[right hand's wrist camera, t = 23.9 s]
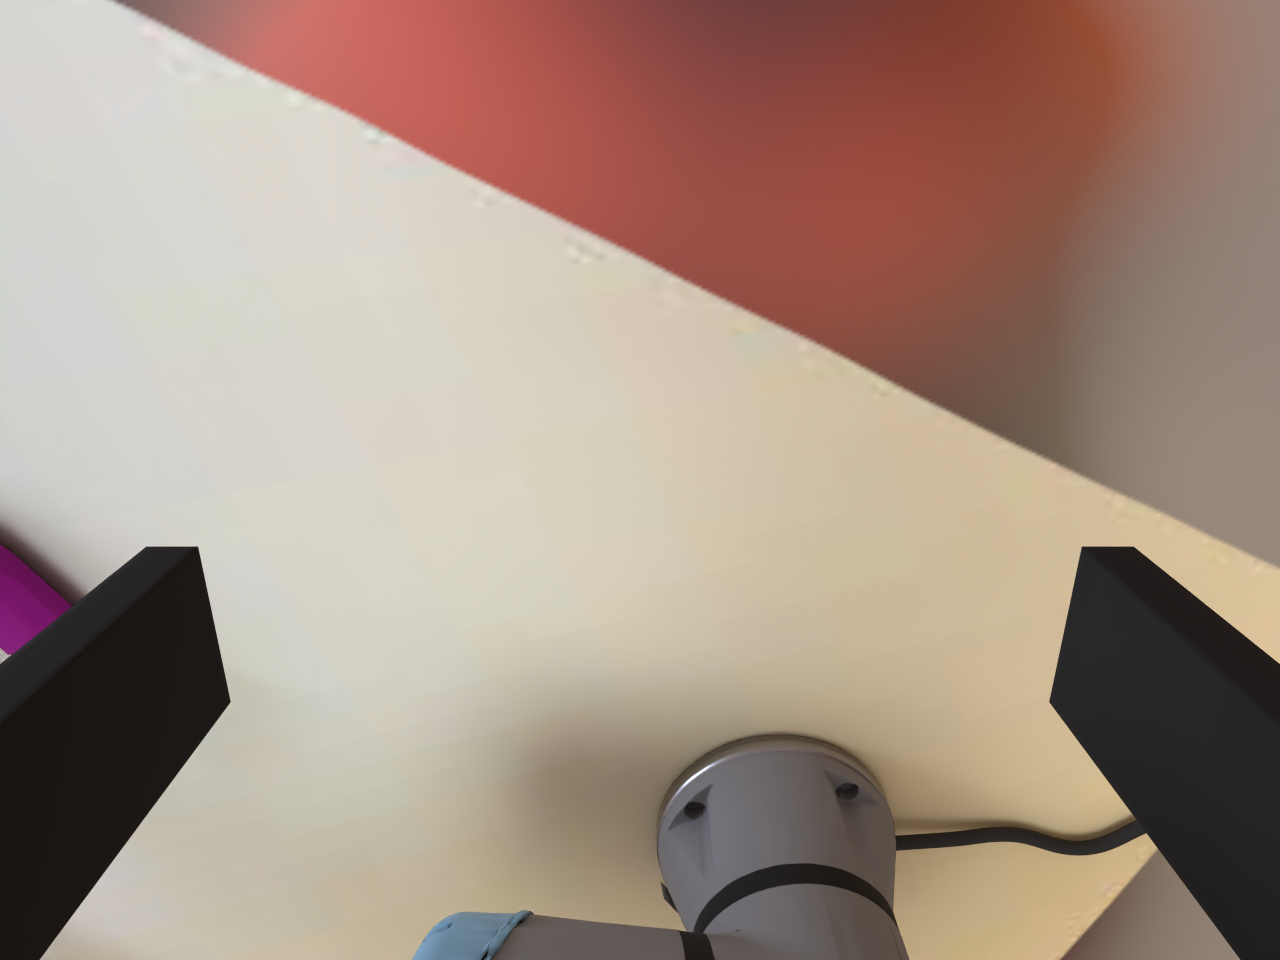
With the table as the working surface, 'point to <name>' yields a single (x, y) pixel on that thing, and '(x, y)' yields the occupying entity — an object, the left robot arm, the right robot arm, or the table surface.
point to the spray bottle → (24, 603)
